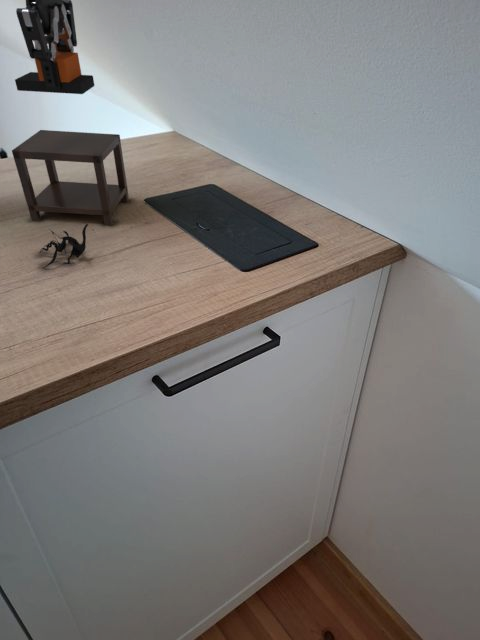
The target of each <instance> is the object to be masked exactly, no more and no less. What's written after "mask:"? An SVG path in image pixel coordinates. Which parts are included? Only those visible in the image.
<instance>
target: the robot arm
mask: <svg viewBox="0 0 480 640" xmlns="http://www.w3.org/2000/svg"><path fill="white" fill-rule="evenodd" d="M73 5H74V4H73V2H72V0H25V7H23V8H21V7H20V8H19V7H18V8H16V9H15V10H16V11H15V13H16V16H17V21H18V23H19V27H20V29H21V32H22V33H21V34H22V36H23V39H24V42H25V45H26V48H27V52H28V55H29V57H30V59H32V60H33V59H34V60H35V59H37V61H40V64H41V68H42V73H43V77H44V81H45V86H46V88H47V90H49V91H59V90H61V89H62V84H61V79H60V75H59V70H58V65H57V62H56V52H74V53H75V49H74V48H76V47H77V46H78V39H77V32H76V24H75V23H76V22H75V16H74V15H75V14H74V6H73Z"/></svg>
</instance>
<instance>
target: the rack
mask: <svg viewBox="0 0 480 640" xmlns="http://www.w3.org/2000/svg"><path fill="white" fill-rule="evenodd" d="M122 149H123V148H122V143H121V135H120V134H119V133H117V134H116V133H99V132H82V131H65V130H47V129H40V130H38V131H37V132H35V133H34V134H33V135H31V136H30V137H28V138H27V139H25V140H24V141H23V142H21V143H20V144H19V145H18V146H16V147H15V148H13V149H11V154H12V157H13V160H14V163H15V164H14V165H15V167H16V170H17V174H18V178H19V181H20V186H21V188H22V191H23V195H24V199H25V201H26V206H27V209H28V212H29V216H30V219H31V222H40V220H41V219H42V216H41V213H40V212H44V213H45V212H46V213H47V212H48V213H61V214H76V215H77V214H78V215H92V216H93V215H95V216H102V217H103V222H104V223H103V224H104V226H108V227H113V225H114V217H113V212H114V211H115V210H116V208H117V206H118V205H119V204H120V203H126V204H127V203H129V201H130V197H129V191H128V184H127V177H126V176H127V175H126V169H125V161H124V155H123V150H122ZM112 152H113V158H114V163H115V171H116V178H117V183H118V184H111V183H110V184H108V181H107V176H106V175H107V174H106V171H105V170H106V169H105V165H104V160H105V159H106V158H107V157H108V156H109V155H110V154H111V153H112ZM26 160H38V161H39V160H40V161H44V164H45V168H46V172H47V175H48V179H49V184H48V185H47V186H46V187H44V188H43V190H41V192H40V193H38V195H36V194H35V191H34V186H33V183H32V179H31V175H30V172H29V168H28V165H27V161H26ZM56 161H57V162H70V163H71V162H72V163H90V164H93V168H94V169H93V170H94V173H95V179H96V183H94V182H93V183H92V182H77V181H76V182H75V181H61V180H59V176H58V170H57V167H56V163H55V162H56Z"/></svg>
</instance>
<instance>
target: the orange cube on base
mask: <svg viewBox="0 0 480 640" xmlns="http://www.w3.org/2000/svg"><path fill="white" fill-rule="evenodd" d="M34 62H35V66H36V67H35V68H36V70H37V71H36V72H35V71H30V72H28V73H26V74H24V75H22V76H19V77H17V78H15V79H14V83H15V86H16V91H19V92H34V93H35V92H36V93H37V92H38V93H55V94H74V95H83V94H86V92H88V91H89V90H91V89H93V88H94V87H95V81H94V76H93V75H90V74H89V75H88V74H82V70H81V63H80V58H79V52H75V51H74V52H56V62H57V65H58V70H59V75H60V79H61V84H62V89H61V90H59V91H49V90H47V88H46V86H45V81H44V77H43V73H42V68H41V64H40V61H37V59H34Z"/></svg>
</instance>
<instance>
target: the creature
mask: <svg viewBox="0 0 480 640" xmlns="http://www.w3.org/2000/svg"><path fill="white" fill-rule="evenodd" d="M88 226H89V224H88V223H87V224H85V225H84V227H83V229H82V233H81V235H82V242H81V243H79V241H78V240H77V238H75V237H73V236H70V235H69V233H68V232H67V231H65V230H63V231H62V232H63V233H64V234H65V235H66V236H62V237H60V236H58V239H60V240H62V241H61V242H59V241H58V239H57V236H54V238H55V240H50V241H49V242H48V243H47V244H45V245H44V246H43V247H42V248H40V251H39V253H42V252H43V251H46V252H48V251H49V248H50V249H51V248H53V247H54V248H55V250H54V252H53V257H52V259H51V260H50V262H49V263H48V264H46V265H45V266H42V269H45V268H47V267H48V266H50V265H52V264H54V263H58V261H59V260H56V259H57V256H58V253H63V251H64V254H67V253H68V252H67V251H66V248H67V245H71V246H72V248H71V250H70V255H69V257H68V258H67V262H64V265H70V264H71V262H70V261H71V258H72V257H76V258H77V259H79V257H80V256H81V255H82V254H83V253H84V252H85V251H86V247H87V246H86V243H87V242H86V241H87V235H86V230H87V227H88ZM48 229H49V231H50V232H52V234H53V235H56V232H54V231H53V230H51V229H50V228H49V227H48ZM45 247H46V248H45Z"/></svg>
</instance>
